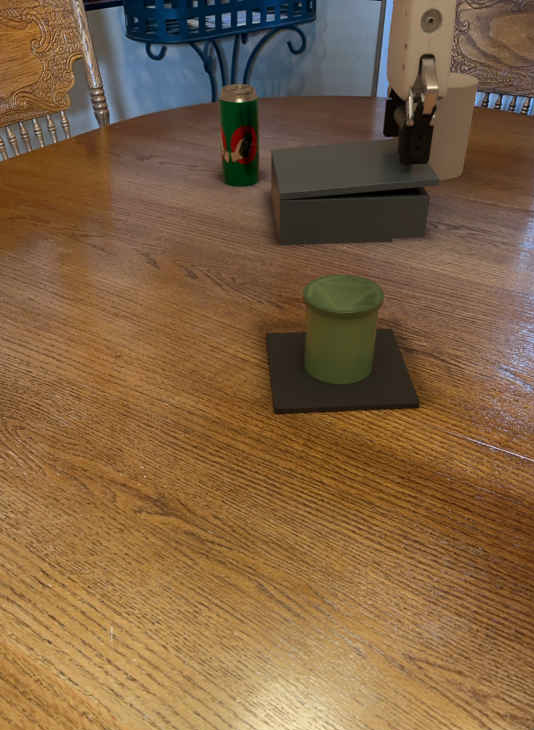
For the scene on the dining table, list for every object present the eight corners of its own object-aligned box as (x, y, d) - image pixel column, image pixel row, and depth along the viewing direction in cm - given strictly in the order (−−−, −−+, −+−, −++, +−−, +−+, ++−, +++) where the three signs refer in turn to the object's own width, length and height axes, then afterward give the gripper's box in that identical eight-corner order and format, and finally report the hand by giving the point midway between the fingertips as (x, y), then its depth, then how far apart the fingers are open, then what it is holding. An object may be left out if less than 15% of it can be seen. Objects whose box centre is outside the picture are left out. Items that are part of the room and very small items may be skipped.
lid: (410, 143, 87) (413, 92, 83) (438, 185, 76) (444, 128, 72) (271, 156, 87) (268, 105, 83) (280, 200, 76) (277, 144, 72)
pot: (368, 344, 64) (376, 272, 60) (381, 385, 59) (391, 311, 55) (297, 346, 64) (299, 275, 59) (304, 388, 59) (307, 314, 54)
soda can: (266, 183, 96) (266, 86, 88) (245, 195, 93) (242, 95, 85) (237, 176, 98) (233, 81, 90) (215, 187, 95) (210, 89, 87)
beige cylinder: (467, 169, 100) (484, 75, 92) (453, 188, 94) (470, 90, 86) (412, 162, 102) (423, 69, 94) (395, 180, 97) (406, 83, 89)
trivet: (391, 332, 67) (392, 328, 66) (419, 407, 58) (420, 402, 57) (266, 337, 66) (266, 332, 66) (274, 413, 57) (274, 408, 57)
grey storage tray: (397, 199, 92) (402, 153, 88) (422, 247, 81) (430, 196, 77) (271, 203, 91) (271, 156, 87) (279, 251, 80) (280, 200, 76)
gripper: (489, -22, 63) (456, 174, 74) (441, -45, 76) (419, 126, 87) (406, -21, 62) (386, 176, 74) (373, -44, 75) (360, 127, 87)
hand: (404, 149), depth 80 cm, fingers open, 9 cm apart
